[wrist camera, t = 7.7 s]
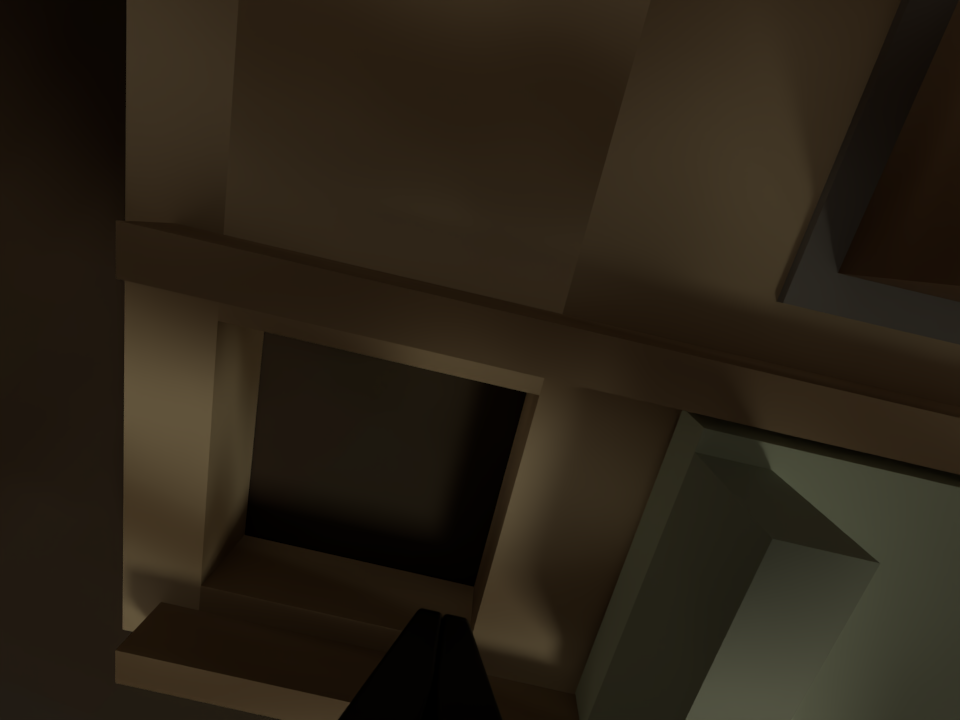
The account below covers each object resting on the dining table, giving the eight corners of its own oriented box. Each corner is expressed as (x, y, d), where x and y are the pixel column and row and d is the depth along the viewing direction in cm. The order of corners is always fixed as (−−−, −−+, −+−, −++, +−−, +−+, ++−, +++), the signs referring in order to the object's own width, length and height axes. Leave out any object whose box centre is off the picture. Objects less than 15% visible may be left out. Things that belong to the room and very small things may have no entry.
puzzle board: (831, 721, 14) (931, 869, 11) (176, 574, 14) (73, 679, 10) (1244, 37, 9) (1679, -80, 6) (212, -218, 9) (34, -497, 5)
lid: (876, 760, 11) (1033, 978, 8) (574, 692, 11) (605, 885, 8) (1053, 494, 9) (1366, 640, 6) (683, 408, 9) (787, 506, 6)
